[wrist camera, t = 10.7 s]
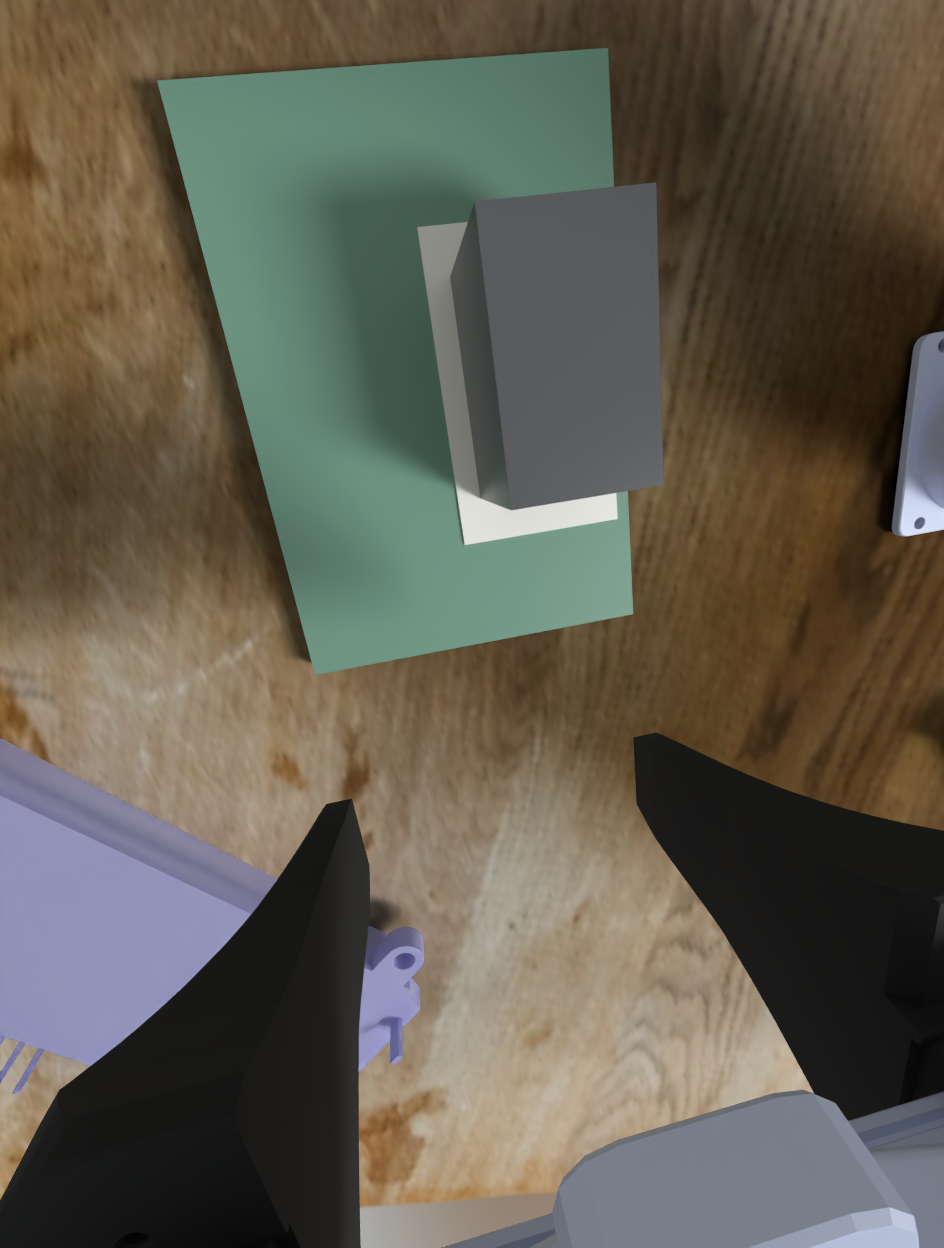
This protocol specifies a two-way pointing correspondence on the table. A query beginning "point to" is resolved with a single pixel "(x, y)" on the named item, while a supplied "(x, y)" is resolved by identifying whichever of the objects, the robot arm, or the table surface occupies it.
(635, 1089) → the table surface
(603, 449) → the block
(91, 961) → the computer part
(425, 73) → the header board
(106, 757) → the table surface
